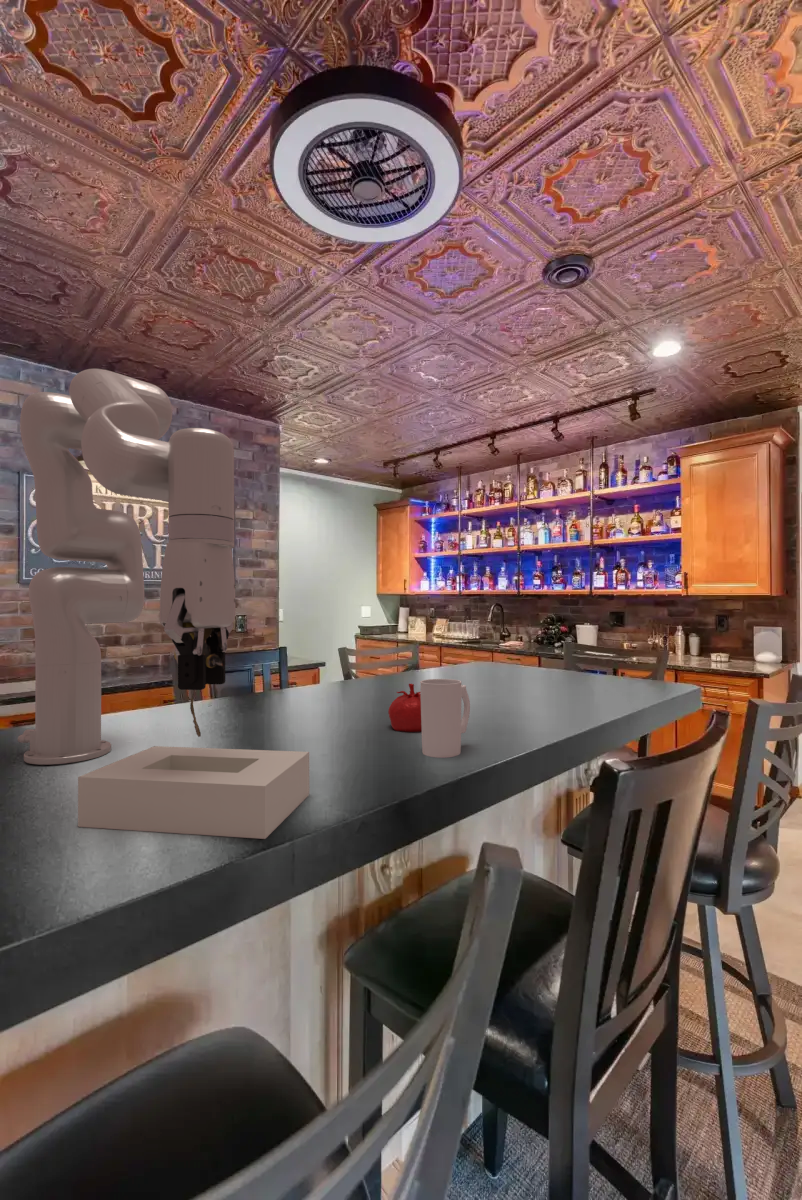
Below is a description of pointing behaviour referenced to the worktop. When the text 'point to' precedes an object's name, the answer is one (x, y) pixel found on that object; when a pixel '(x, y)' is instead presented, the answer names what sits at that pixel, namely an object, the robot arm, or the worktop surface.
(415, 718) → the pomegranate
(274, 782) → the stand
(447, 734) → the mug
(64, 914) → the worktop surface
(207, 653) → the regulator
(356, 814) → the worktop surface
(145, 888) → the worktop surface
